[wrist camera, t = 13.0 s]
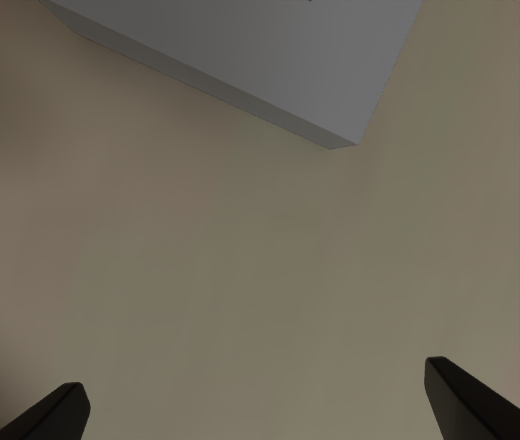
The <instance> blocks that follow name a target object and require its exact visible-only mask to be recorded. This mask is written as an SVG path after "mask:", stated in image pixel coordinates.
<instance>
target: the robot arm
mask: <svg viewBox="0 0 520 440" xmlns="http://www.w3.org/2000/svg"><path fill="white" fill-rule="evenodd" d="M424 385H425V390H426V394H427V396H428V399H429V402H430V404H431V407H432V410H433V412H434V415H435V417H436V420H437V423H438V425H439V428H440V431H441V433H442V436H443V439H444V440H520V408H518V407H517V406H515V405H514V404H512V403H511V402H509V401H508V400H507V399H505V398H504V397H502V396H501V395H499V394H498V393H496V392H495V391H494V390H492V389H491V388H489V387H488V386H486V385H485V384H483V383H482V382H481V381H479V380H478V379H476V378H475V377H473V376H472V375H470V374H469V373H468V372H466V371H465V370H463V369H462V368H460V367H459V366H457V365H456V364H455V363H453V362H452V361H450V360H449V359H447V358H446V357H443V356H437V357H428V358H427V359H426V361H425V377H424ZM90 408H91V407H90V402H89V400H88V397H87V394H86V392H85V389H84V387H83V385H82V384H81V383H80V382H70V383H64V384H63V385H61V386H60V387H58V388H57V389H56V390H54V391H53V392H51V393H50V394H49V395H47V396H46V397H45V398H43V399H42V400H40V401H39V402H38V403H36V404H35V405H34V406H32V407H31V408H29V409H28V410H27V411H25V412H24V413H23V414H21V415H20V416H18V417H17V418H16V419H14V420H13V421H12V422H10V423H9V424H7V425H6V426H5V427H3V428H2V429H1V430H0V440H81V437H82V435H83V432H84V429H85V426H86V423H87V420H88V418H89V415H90Z"/></svg>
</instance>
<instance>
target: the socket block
mask: <svg viewBox="0 0 520 440" xmlns="http://www.w3.org/2000/svg"><path fill="white" fill-rule="evenodd" d="M39 1H40V2H41V3H42V4H43V5H44V6H45V7H47V8H48V9H49V10H50V11H51V12H52V13H53V14H54V15H55V16H57V17H58V18H59V19H60V20H61V21H62V22H63V23H64V24H65V25H67V26H68V27H69V28H70V29H71V30H72V31H73V32H74V33H76V34H79V35H81V36H83V37H85V38H87V39H89V40H92V41H94V42H96V43H98V44H100V45H103V46H105V47H107V48H109V49H111V50H113V51H116V52H118V53H120V54H122V55H124V56H127V57H129V58H131V59H133V60H135V61H137V62H140V63H142V64H144V65H146V66H148V67H151V68H153V69H155V70H157V71H159V72H162V73H164V74H166V75H168V76H170V77H172V78H175V79H177V80H179V81H181V82H183V83H186V84H188V85H190V86H192V87H194V88H196V89H199V90H201V91H203V92H205V93H207V94H210V95H212V96H214V97H216V98H218V99H220V100H223V101H225V102H227V103H229V104H231V105H234V106H236V107H238V108H240V109H242V110H245V111H247V112H249V113H251V114H253V115H255V116H258V117H260V118H262V119H264V120H266V121H269V122H271V123H273V124H275V125H277V126H279V127H282V128H284V129H286V130H288V131H290V132H293V133H295V134H297V135H299V136H301V137H303V138H306V139H308V140H310V141H312V142H314V143H317V144H319V145H321V146H323V147H325V148H328V149H337V148H343V147H349V146H355V145H359V143H360V141H361V139H362V136H363V134H364V132H365V130H366V127H367V125H368V123H369V121H370V118H371V116H372V114H373V112H374V109H375V107H376V105H377V103H378V101H379V98H380V96H381V94H382V92H383V89H384V87H385V85H386V83H387V80H388V78H389V76H390V74H391V71H392V69H393V67H394V65H395V62H396V60H397V58H398V56H399V53H400V51H401V49H402V47H403V45H404V42H405V40H406V38H407V36H408V33H409V31H410V29H411V27H412V24H413V22H414V20H415V18H416V15H417V13H418V11H419V9H420V6H421V4H422V2H423V0H39Z"/></svg>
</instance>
